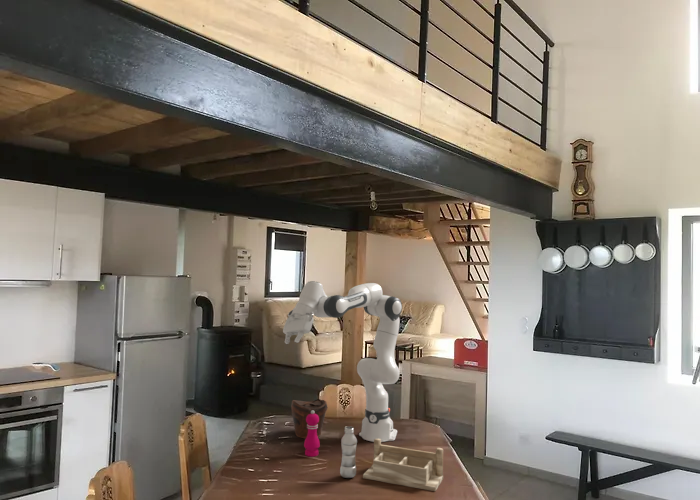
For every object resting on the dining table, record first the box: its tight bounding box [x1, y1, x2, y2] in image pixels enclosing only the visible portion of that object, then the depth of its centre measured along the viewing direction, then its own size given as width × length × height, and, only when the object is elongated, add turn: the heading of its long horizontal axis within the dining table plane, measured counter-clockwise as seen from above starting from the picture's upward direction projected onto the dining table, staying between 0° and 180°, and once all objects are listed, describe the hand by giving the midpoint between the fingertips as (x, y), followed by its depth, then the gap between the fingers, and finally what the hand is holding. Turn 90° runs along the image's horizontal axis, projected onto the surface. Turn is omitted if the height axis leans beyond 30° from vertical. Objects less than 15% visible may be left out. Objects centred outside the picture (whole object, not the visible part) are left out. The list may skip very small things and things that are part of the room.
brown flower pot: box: [290, 398, 328, 439], centre depth 274 cm, size 18×20×18 cm
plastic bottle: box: [339, 426, 358, 479], centre depth 221 cm, size 6×7×20 cm
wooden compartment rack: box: [362, 439, 444, 492], centre depth 221 cm, size 14×30×12 cm, turn 68°
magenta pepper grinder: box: [303, 410, 321, 457], centre depth 246 cm, size 7×7×20 cm
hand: (291, 342), depth 233 cm, fingers open, 8 cm apart
